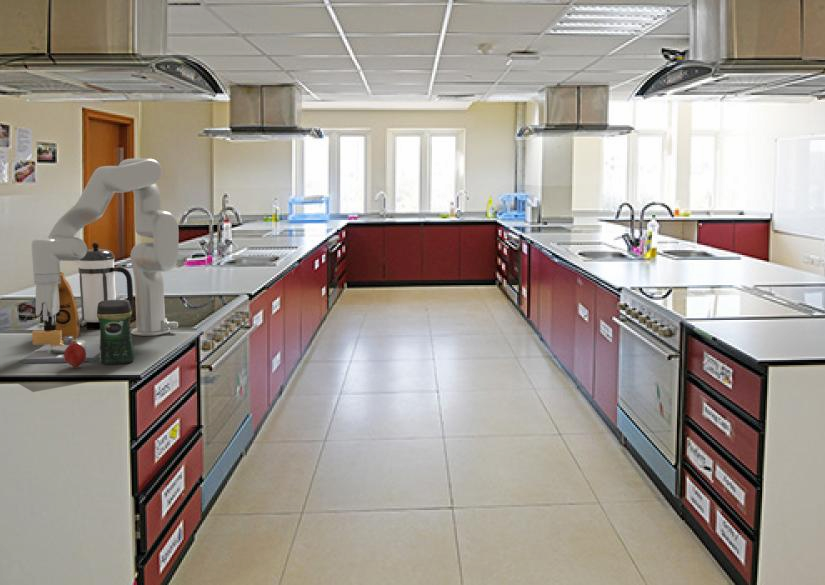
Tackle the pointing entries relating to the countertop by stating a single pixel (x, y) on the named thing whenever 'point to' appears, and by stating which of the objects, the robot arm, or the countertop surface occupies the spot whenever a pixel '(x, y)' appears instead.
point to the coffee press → (99, 281)
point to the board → (47, 356)
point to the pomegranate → (75, 354)
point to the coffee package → (67, 310)
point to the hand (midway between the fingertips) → (50, 337)
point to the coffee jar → (115, 332)
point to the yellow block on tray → (54, 340)
